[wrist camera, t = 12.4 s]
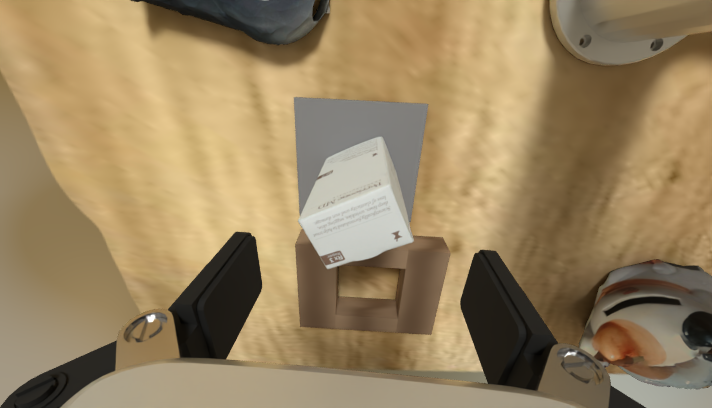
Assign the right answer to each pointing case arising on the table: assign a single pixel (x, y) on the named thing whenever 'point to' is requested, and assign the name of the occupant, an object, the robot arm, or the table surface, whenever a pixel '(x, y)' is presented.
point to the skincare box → (356, 206)
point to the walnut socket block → (404, 315)
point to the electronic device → (255, 16)
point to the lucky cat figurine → (654, 324)
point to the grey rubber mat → (358, 137)
